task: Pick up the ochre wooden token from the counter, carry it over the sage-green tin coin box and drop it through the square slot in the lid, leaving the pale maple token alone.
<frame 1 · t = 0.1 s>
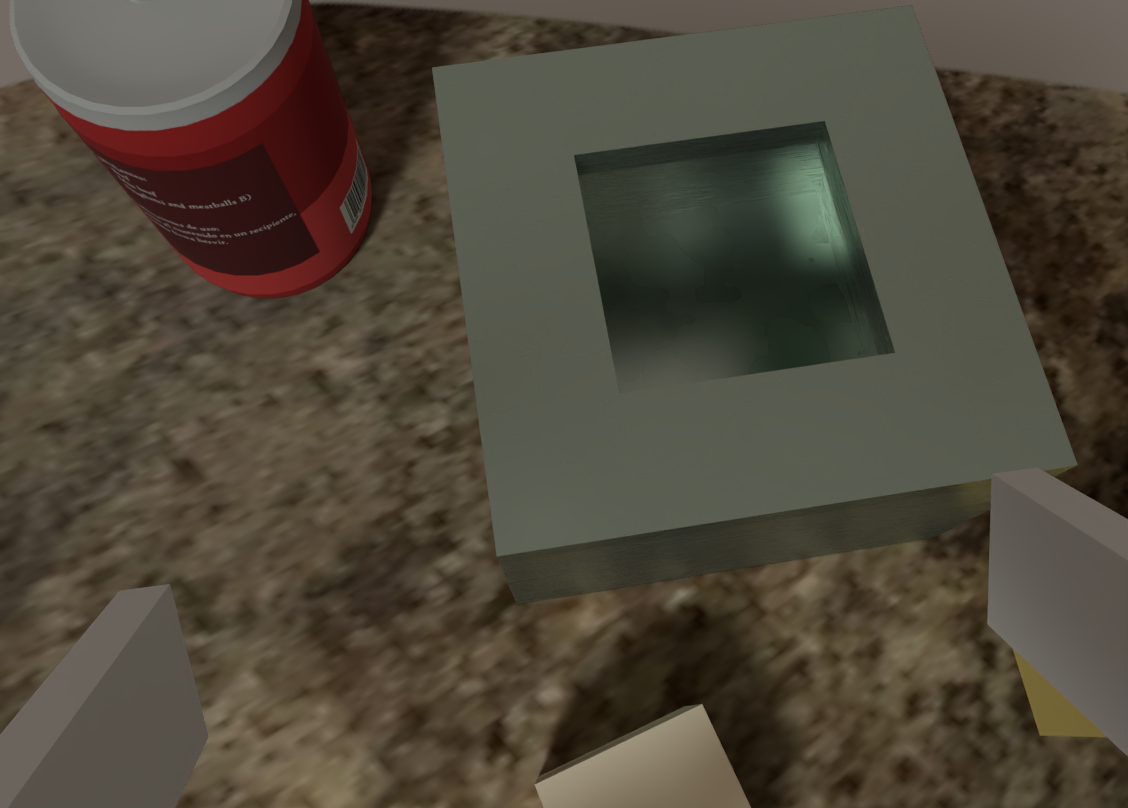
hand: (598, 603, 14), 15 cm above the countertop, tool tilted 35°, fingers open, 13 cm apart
coin box: (685, 375, 32), on the countertop
canned food: (278, 214, 34), on the countertop
token: (1086, 641, 29), on the countertop
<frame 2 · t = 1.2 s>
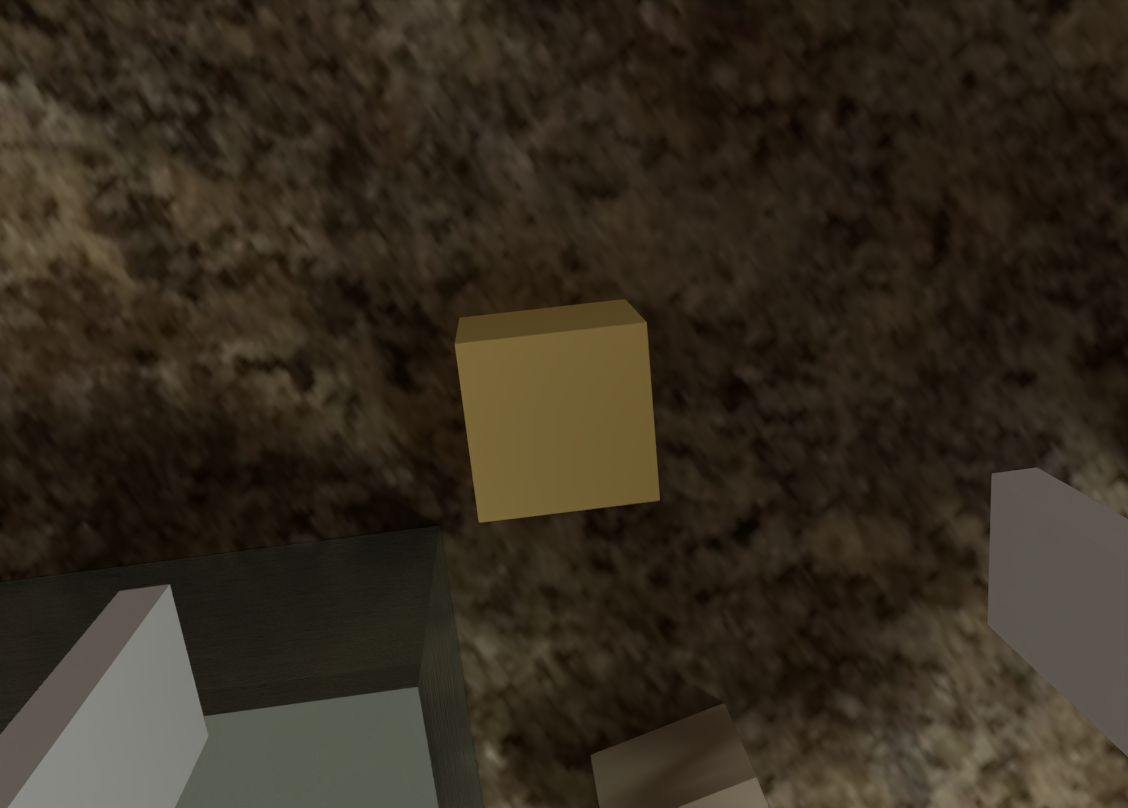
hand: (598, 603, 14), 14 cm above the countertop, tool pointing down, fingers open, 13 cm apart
coin box: (260, 744, 30), on the countertop
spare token: (680, 782, 32), on the countertop
token: (550, 387, 28), on the countertop
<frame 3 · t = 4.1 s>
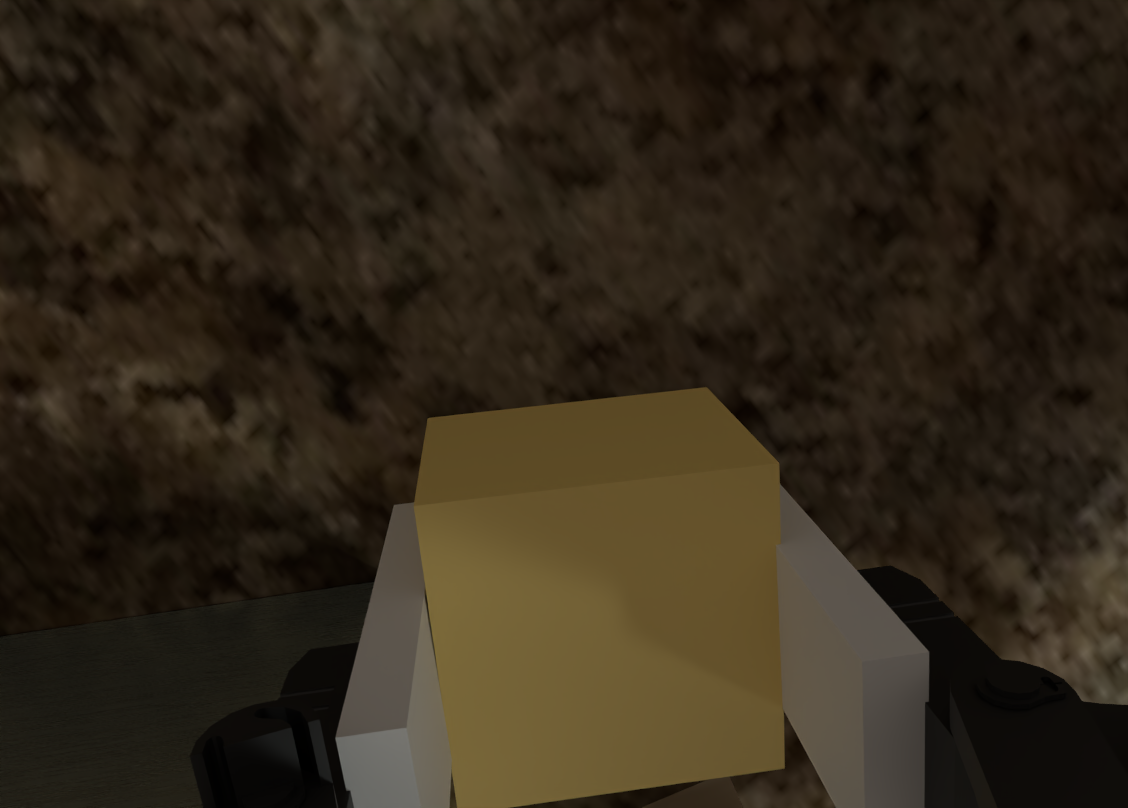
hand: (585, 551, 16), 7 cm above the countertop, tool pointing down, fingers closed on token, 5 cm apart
token: (579, 530, 17), point 7 cm above the countertop, touching gripper
when the fingers open (9 cm above the countertop, at t = 6.6 s): token drops 8 cm, resting on coin box.
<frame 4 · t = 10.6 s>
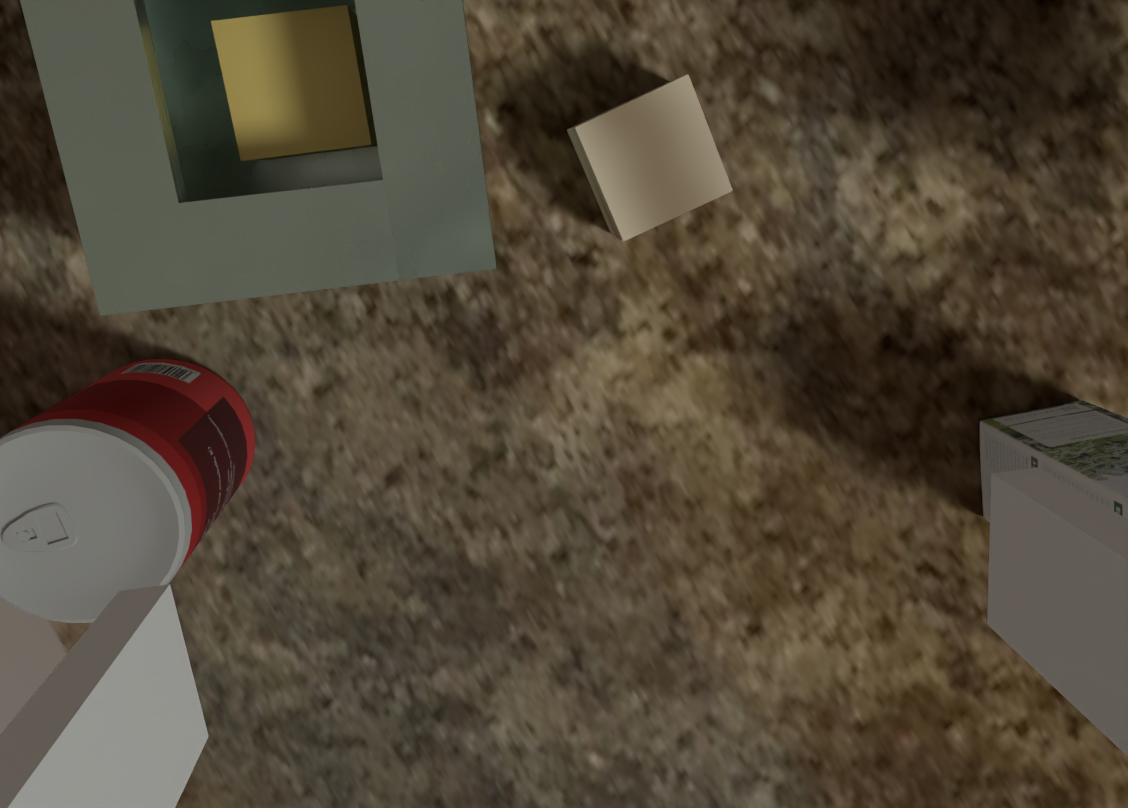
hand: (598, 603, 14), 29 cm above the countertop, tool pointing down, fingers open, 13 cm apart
syrup box: (1028, 456, 46), on the countertop
coin box: (310, 99, 39), on the countertop
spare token: (639, 158, 41), on the countertop
canned food: (174, 432, 42), on the countertop
token: (312, 91, 38), point 1 cm above the countertop, touching coin box
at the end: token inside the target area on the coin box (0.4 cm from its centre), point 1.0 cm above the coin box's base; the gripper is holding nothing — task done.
